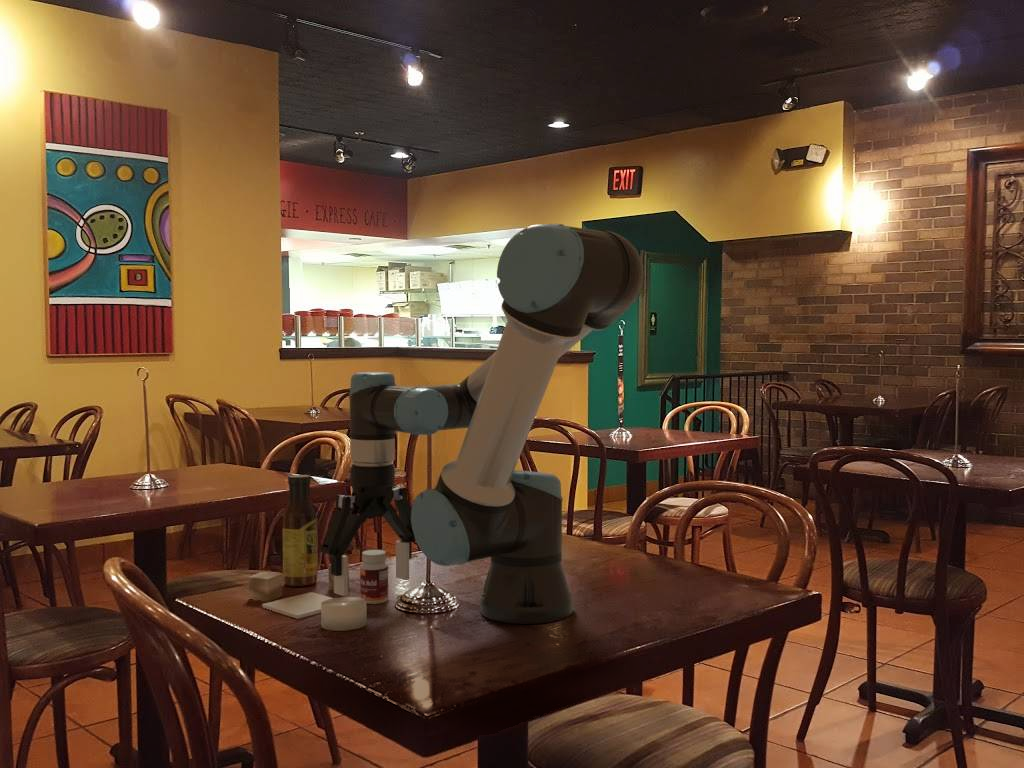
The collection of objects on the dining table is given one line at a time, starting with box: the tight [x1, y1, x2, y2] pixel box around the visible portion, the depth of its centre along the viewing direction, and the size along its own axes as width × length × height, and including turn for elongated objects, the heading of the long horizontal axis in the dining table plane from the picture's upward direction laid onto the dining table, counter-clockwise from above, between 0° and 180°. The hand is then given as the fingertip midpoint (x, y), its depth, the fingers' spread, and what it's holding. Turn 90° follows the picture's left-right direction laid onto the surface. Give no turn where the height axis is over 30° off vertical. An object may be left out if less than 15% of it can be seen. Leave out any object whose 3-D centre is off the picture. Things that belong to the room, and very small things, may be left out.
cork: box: [327, 563, 350, 592], centre depth 169 cm, size 4×4×4 cm
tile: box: [261, 591, 334, 620], centre depth 158 cm, size 10×10×1 cm
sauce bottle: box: [282, 474, 319, 587], centre depth 173 cm, size 6×6×20 cm
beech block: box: [248, 571, 283, 603], centre depth 164 cm, size 4×4×4 cm
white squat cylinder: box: [320, 596, 368, 632], centre depth 148 cm, size 7×7×4 cm
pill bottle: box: [359, 549, 389, 605], centre depth 161 cm, size 5×5×8 cm
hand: (372, 586), depth 161 cm, fingers open, 13 cm apart
